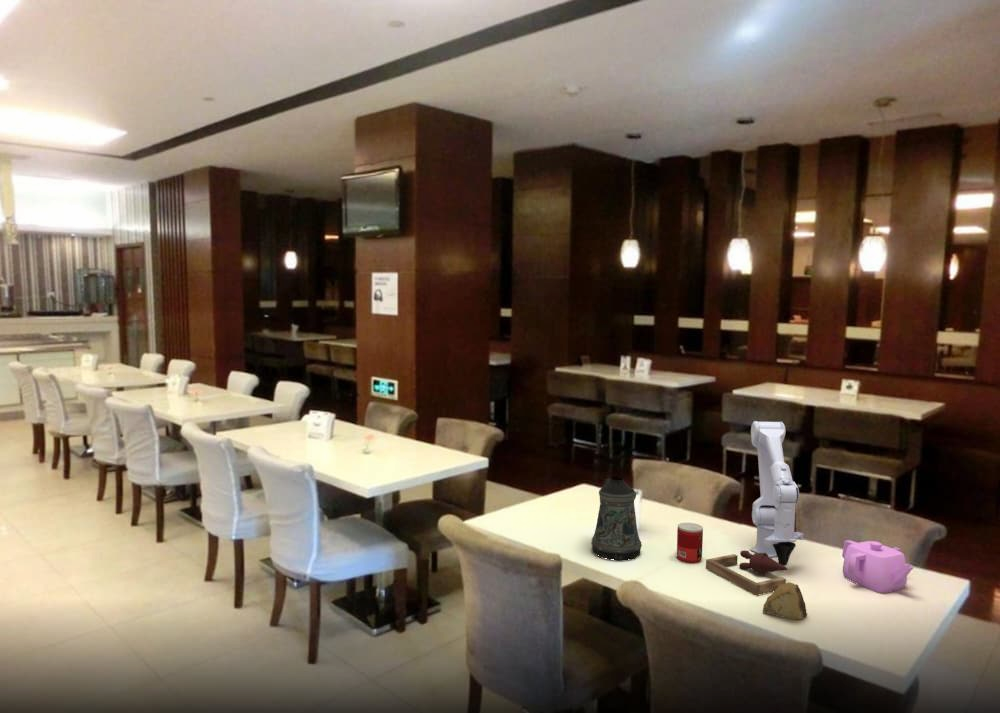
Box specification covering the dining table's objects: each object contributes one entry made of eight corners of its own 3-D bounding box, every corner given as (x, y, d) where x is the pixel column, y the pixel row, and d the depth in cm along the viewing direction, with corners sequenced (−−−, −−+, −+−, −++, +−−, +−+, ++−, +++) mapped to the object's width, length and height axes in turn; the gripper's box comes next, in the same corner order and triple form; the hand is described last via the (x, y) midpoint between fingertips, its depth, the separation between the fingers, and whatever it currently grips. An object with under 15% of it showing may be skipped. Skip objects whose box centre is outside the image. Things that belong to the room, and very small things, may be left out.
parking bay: (733, 563, 218) (734, 554, 217) (785, 588, 199) (786, 579, 198) (705, 568, 213) (706, 559, 213) (755, 595, 194) (756, 585, 194)
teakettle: (839, 567, 215) (841, 530, 214) (900, 576, 209) (902, 537, 208) (846, 589, 199) (848, 548, 198) (912, 598, 193) (915, 557, 192)
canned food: (702, 564, 216) (704, 531, 215) (677, 562, 218) (678, 529, 217) (700, 555, 224) (701, 523, 223) (675, 553, 226) (676, 521, 225)
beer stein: (620, 565, 215) (621, 489, 213) (574, 548, 230) (576, 476, 227) (651, 553, 226) (653, 479, 224) (606, 537, 240) (607, 468, 238)
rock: (754, 607, 182) (790, 614, 175) (760, 576, 186) (797, 582, 178) (771, 621, 188) (807, 629, 180) (777, 591, 191) (812, 597, 184)
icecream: (792, 556, 207) (745, 547, 217) (782, 557, 202) (735, 547, 212) (791, 580, 206) (744, 570, 216) (781, 581, 201) (733, 570, 211)
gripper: (777, 529, 204) (775, 572, 205) (811, 523, 210) (809, 565, 211) (759, 522, 211) (757, 564, 212) (793, 516, 217) (791, 557, 218)
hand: (782, 564), depth 212 cm, fingers closed
